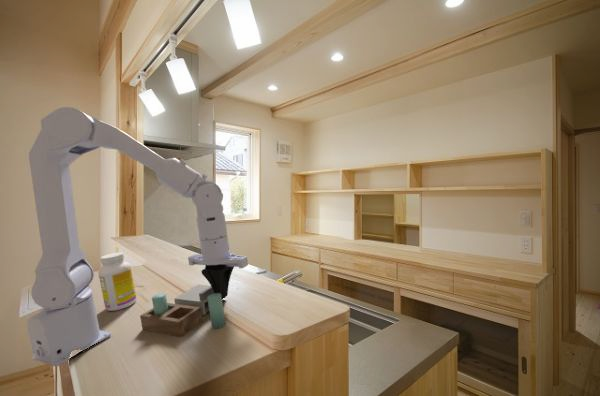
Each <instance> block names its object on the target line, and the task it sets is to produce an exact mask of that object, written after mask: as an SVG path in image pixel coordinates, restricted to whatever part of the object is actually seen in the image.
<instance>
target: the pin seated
mask: <svg viewBox="0 0 600 396" xmlns="http://www.w3.org/2000/svg"><path fill="white" fill-rule="evenodd" d="M167 300H168V299H167V294H166V293H165V292H163V293H158V294H156V295H154V296H152V297H151V302H152V307H153V308H154V314H155V315H158V316H161V315H162V314H164V313H166V312H167V311H169V310H168V304H167V303H168V301H167Z"/></svg>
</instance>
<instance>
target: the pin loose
mask: <svg viewBox="0 0 600 396" xmlns="http://www.w3.org/2000/svg"><path fill="white" fill-rule="evenodd" d="M207 298H208V305H209V315H210V316H209V319H210V324H211V328H212V329H220V328H222V327H225V325H226V318H225V312H224V306H223V305H224V303H223V300H222V297H221V294H220V293H214V294H211V295H209V296H208V297H207Z"/></svg>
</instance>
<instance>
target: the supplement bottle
mask: <svg viewBox="0 0 600 396" xmlns="http://www.w3.org/2000/svg"><path fill="white" fill-rule="evenodd" d="M124 259H125V256H124V252H121V251H120V252H114V253H109V254H108V253H107V254H105V255H102V256H101V257H100V263H101V264H102V267H101V268H100V269H99V270H98V277H99V278H98V279H99V283H100V289H101V294H102V299H103V304H104V307H105V309H106V310H107V311H109V312H115V311H121V310H123V309H125V308H128V307H130V306H132V305H134V303H135V302H136V301H137V294H136V290H135V283H134V278H133V273H132V268H131V264H130V263H129V262H127V261H124Z"/></svg>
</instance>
